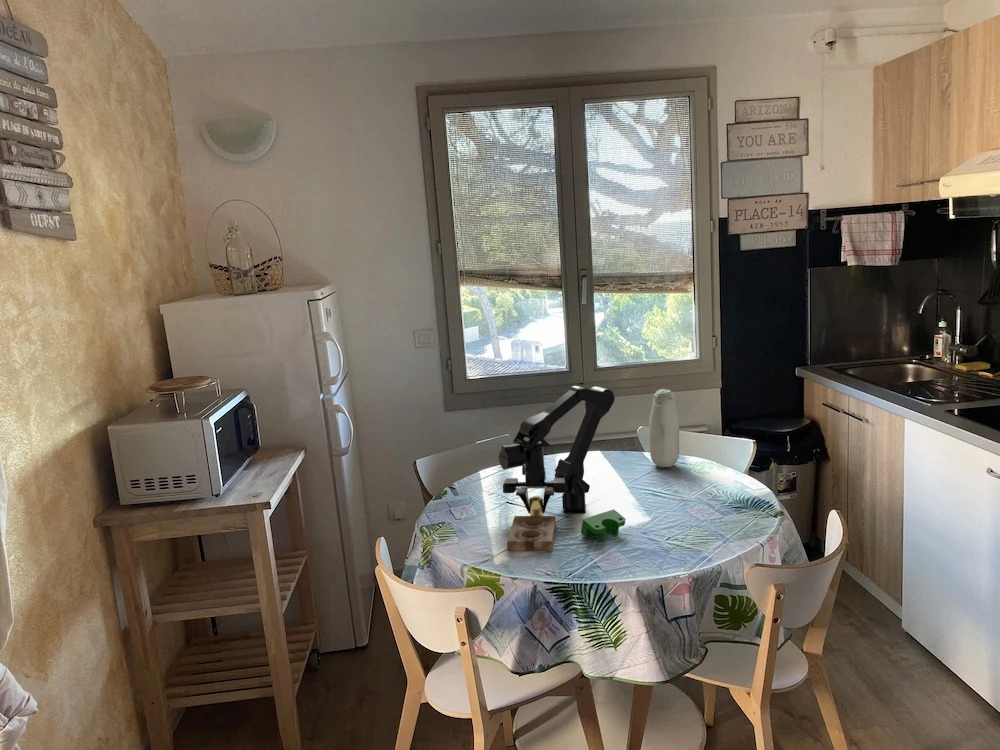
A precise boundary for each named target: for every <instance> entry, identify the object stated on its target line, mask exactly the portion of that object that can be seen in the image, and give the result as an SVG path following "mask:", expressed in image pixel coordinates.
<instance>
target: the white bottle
mask: <svg viewBox="0 0 1000 750" xmlns="http://www.w3.org/2000/svg"><path fill="white" fill-rule="evenodd" d="M651 406H652V407H651V412H650V415H649V416H650V417H649V425H648V426H649V428H648V429H649V431H648V432H649V453H650V454H649V455H650V460H651V461H652V462H653V464H654V465H655V466H657V467H658V468H661V467H669V468H671V467H673V466H674V465H676V463H677V462H678V460H679V455H680V421H679V420H680V419H679V416H678V412H677V406H676V398H675V394H674V393H673V391H671V389H668V388H660V389H657V391H655V392H654V394H653V397H652V405H651Z"/></svg>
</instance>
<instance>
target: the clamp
mask: <svg viewBox="0 0 1000 750" xmlns="http://www.w3.org/2000/svg"><path fill="white" fill-rule="evenodd" d="M581 520H582V521H581V529H580V534H581V535H582V536H583V537H584V538H585V539H587V538H588V539H590V537H591V538H593V537H595V538H597V539H598V540H599V541H600V540H601V541H600V542H602V541H603V542H604V541H605V535H606V533H607V534H610V535H613V536H615V535H616V536H617V537H619V531H620V527H624V526H625V525H626V518H625V517H624V516H623V515H622V514H620V513H619V512H618V511H617V510H615V509H614V508H613V509H610V510H607V511H603V512H601V513H598V514H595V515H590V516H588V517H585V518H582V519H581ZM616 536H615V537H616Z"/></svg>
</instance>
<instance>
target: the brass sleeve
mask: <svg viewBox="0 0 1000 750" xmlns="http://www.w3.org/2000/svg"><path fill="white" fill-rule="evenodd" d="M528 498H529V505H530V513H529V516H544V513H543V500H544V497H543V496H542V497H541V496H537V495H534V496H530V497H528Z"/></svg>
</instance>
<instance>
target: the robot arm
mask: <svg viewBox="0 0 1000 750" xmlns="http://www.w3.org/2000/svg"><path fill="white" fill-rule="evenodd" d="M615 398H616V397H615V394H614V392H613V391H612V390H611V389H608V388H604V387H600V386H593V387H591V388H590V387H583V386H578V385H573V386H571V387H570V388H569V390H567V391H566V392H565V393H564V394H563V395H562V396H560V397H559V398H557V400H555V401H554V402H553V403H551V405H549V406H548V407H547V408H546V409H544V410H543V411H542V412H539V413H537V414H534V415H532V416H530V417H528V418H526V419H524V420H523V421H522V422H521V424H520V427H519V430H518V432H517V434H516V435H515V437H514V439H513V441H512V444H505V445H504V444H503V445H502V446H501V449H500V451H499V455H498V462H499V466H500V467H501V468H502V470H505V471H506V470H509V469H514V468H519V467H521V475H522V476H524V480H525V481H519V479H518V478H517V477H515V478H514V477H510V478H508V477H507V478H505V479H504V481H503V484H502V492H503V494H514V493H515V496H517V497H519V498H520V500H521V501H522V503H523V505H524V506H525V509H526V511H527V513H528V514H530V505H529V498H530V497H529V489H544V493H543V514H545V512H546V509H547V506H548V502H549V500H550V498H551V496H554V495H555V494H561V496H562V497H561V498H562V499H561V500H562V509H563V513H564V514H565V513H566V514H567V513H568V514H569V513H571V514H573V513H574V514H576V513H578V514H579V513H580V514H581V513H583V514H584V513H586V511H587V504H586V494H587V493H589V491H590V487H591V485H590V484H589V483H587V482H586V481H585V480H584V474H585V467H584V466H585V465H584V463H585V460H586V457H587V453H588V452H589V449H590V446H591V444H592V442H593V439H594V437H595V434H596V432H597V429H598V427H599V425H600V422H601V419H602V418H603V417H604V416H606V414H608V413H609V412H610V411H611V408H612V406H613V405H614V403H615ZM582 401H584V406H585V407H584V408H585V414H584V416H583V419H582V421H581V424H580V427H579V429H578V431H577V434H576V436H575V439H574V442H573V443H572V446H571V448H570V451H569V453H568V456H567V457H566V458H565V459H562V458H560V459H559V460H558V462H557V466H556V467H555V469H554V472H555V473H554V478H553V481H546V479H547V476H546V468H545V459H544V457H545V456H544V448H547V447H549V446H550V445H551V444H550V443H549V442H547V440H546V439H545V438H546V437H547V436H548V435H549V434H550V432H551V430H552V427H553V426H554V425H555V423H557V422H558V421H559V420H560V419H562V418H563V417H564V416H565V415H567V413H569V412H570V411H572V409H574V408H575V407H576V406H578V404H579V403H581V402H582ZM527 440H528V441H527Z"/></svg>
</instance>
